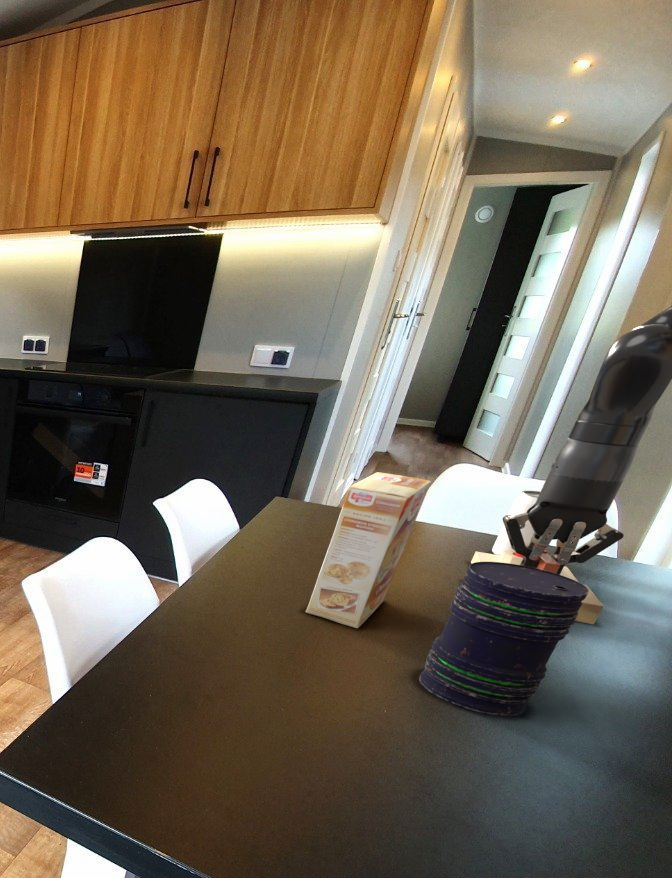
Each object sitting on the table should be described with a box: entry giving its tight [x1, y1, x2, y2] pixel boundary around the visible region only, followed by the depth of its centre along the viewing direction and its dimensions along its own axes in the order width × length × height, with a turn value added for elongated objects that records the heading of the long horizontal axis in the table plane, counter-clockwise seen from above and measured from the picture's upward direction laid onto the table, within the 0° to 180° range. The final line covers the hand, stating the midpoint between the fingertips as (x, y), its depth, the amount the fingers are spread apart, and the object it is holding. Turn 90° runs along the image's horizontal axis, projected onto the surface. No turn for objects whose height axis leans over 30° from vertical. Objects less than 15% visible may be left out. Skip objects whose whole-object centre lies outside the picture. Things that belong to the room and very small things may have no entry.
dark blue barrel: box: [418, 562, 589, 717], centre depth 73 cm, size 10×10×15 cm
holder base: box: [465, 573, 604, 625], centre depth 100 cm, size 14×11×3 cm
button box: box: [470, 550, 579, 582], centre depth 109 cm, size 12×9×4 cm
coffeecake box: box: [305, 471, 433, 629], centre depth 93 cm, size 15×7×20 cm, turn 131°
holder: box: [537, 549, 560, 573], centre depth 98 cm, size 7×2×5 cm, turn 149°
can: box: [491, 490, 541, 556], centre depth 117 cm, size 6×6×12 cm
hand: (533, 582), depth 99 cm, fingers closed on holder
